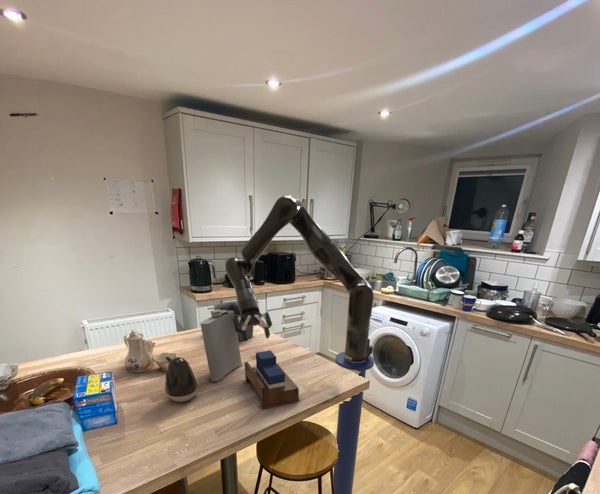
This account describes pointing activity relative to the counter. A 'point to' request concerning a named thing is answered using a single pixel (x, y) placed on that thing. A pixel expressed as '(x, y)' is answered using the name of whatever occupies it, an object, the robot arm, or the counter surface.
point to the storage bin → (234, 307)
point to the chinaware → (143, 354)
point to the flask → (221, 343)
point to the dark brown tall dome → (180, 380)
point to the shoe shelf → (275, 394)
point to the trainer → (269, 370)
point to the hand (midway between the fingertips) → (257, 339)
